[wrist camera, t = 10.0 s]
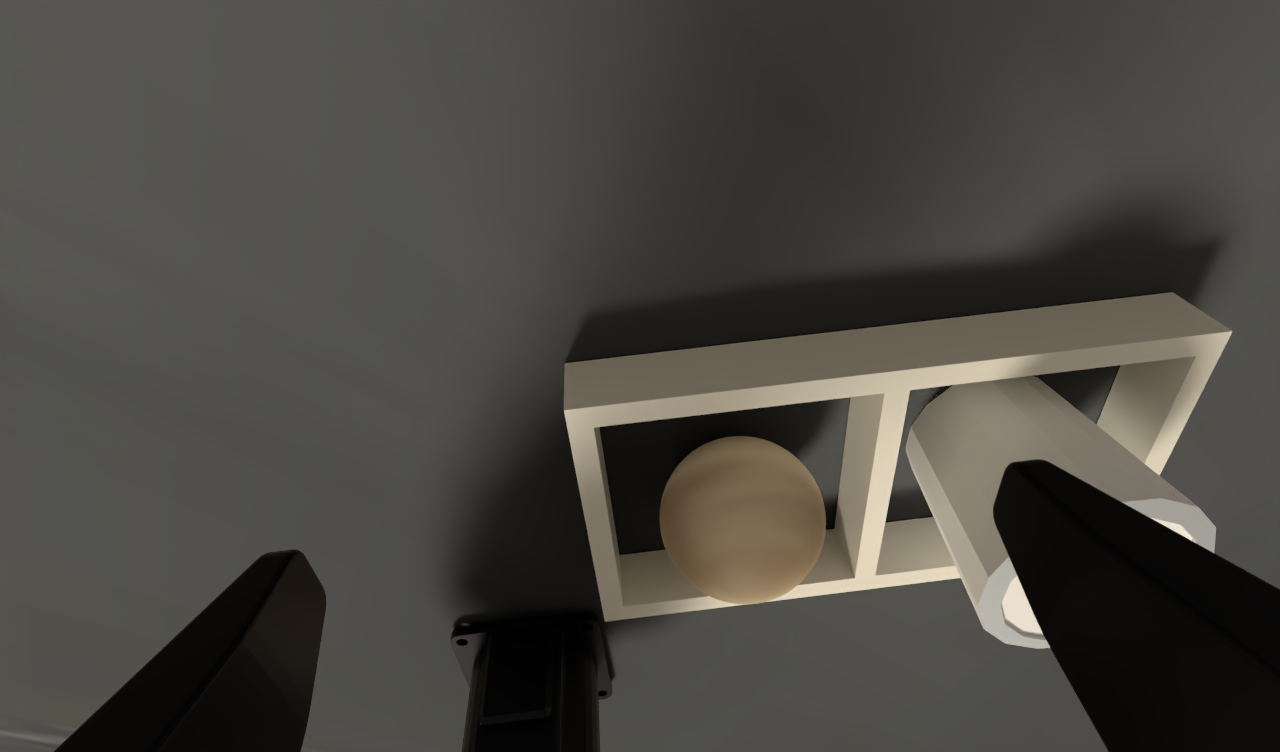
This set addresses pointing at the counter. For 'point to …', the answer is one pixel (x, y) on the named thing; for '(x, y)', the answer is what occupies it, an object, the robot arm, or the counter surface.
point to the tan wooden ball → (742, 520)
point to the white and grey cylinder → (973, 469)
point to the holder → (880, 420)
